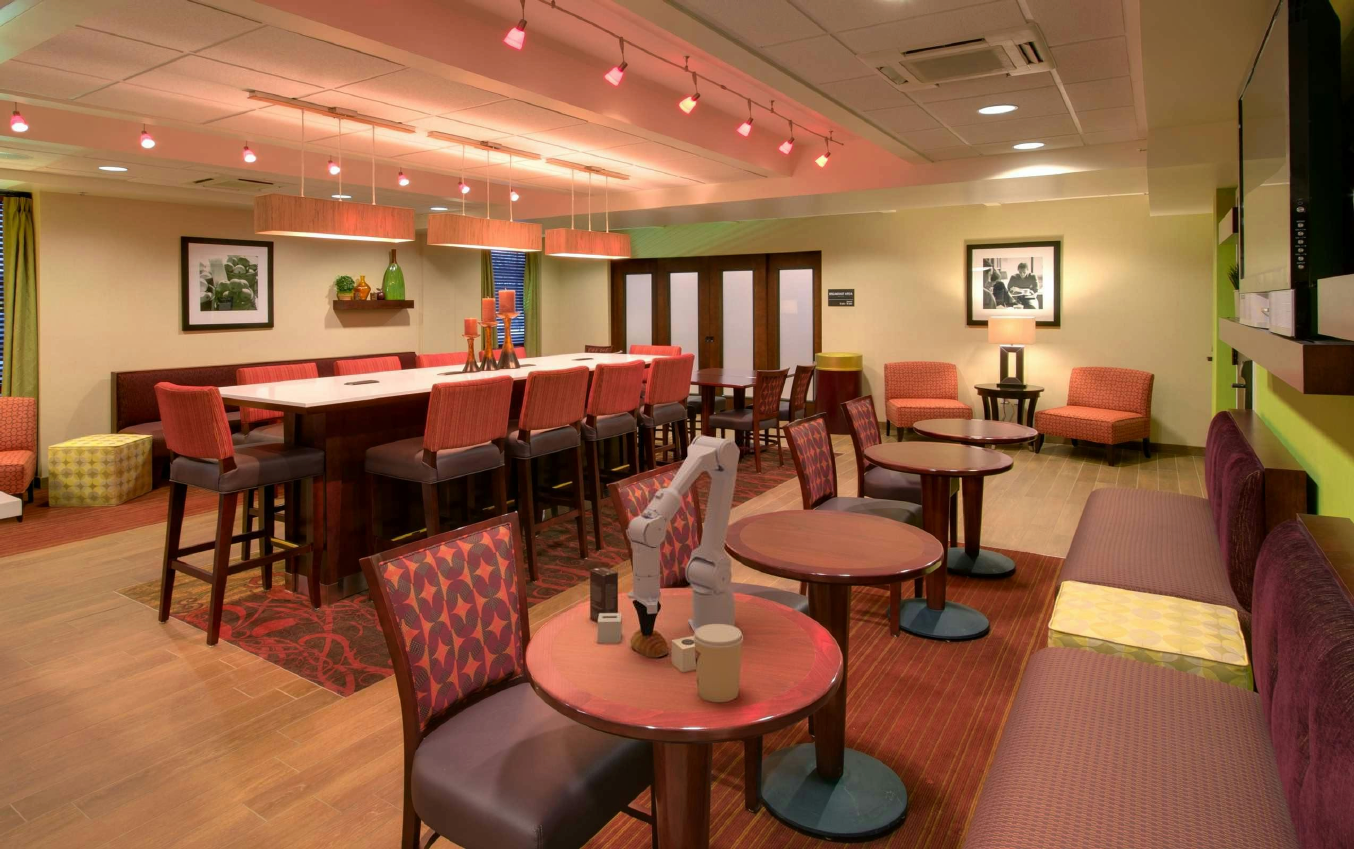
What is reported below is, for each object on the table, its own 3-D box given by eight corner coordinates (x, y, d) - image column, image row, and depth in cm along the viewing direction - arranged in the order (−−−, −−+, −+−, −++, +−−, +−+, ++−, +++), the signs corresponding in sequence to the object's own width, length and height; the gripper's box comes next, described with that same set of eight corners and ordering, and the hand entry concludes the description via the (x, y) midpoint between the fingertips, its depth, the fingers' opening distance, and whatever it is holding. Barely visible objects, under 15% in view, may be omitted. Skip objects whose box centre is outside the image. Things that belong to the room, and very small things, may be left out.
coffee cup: (703, 678, 158) (703, 620, 156) (748, 686, 154) (749, 627, 153) (686, 699, 149) (686, 637, 148) (733, 708, 146) (734, 645, 144)
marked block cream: (693, 658, 167) (693, 635, 167) (704, 668, 163) (704, 643, 162) (671, 663, 165) (671, 639, 164) (682, 672, 161) (682, 648, 160)
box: (619, 621, 187) (618, 572, 186) (603, 626, 185) (602, 576, 183) (604, 614, 192) (604, 565, 190) (589, 618, 189) (588, 569, 188)
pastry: (676, 654, 169) (676, 637, 169) (649, 662, 166) (649, 645, 165) (653, 640, 177) (652, 623, 177) (626, 647, 173) (626, 630, 173)
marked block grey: (621, 634, 180) (621, 612, 180) (620, 643, 175) (620, 620, 175) (599, 634, 180) (599, 612, 179) (597, 643, 175) (597, 621, 174)
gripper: (622, 563, 175) (623, 622, 177) (632, 585, 161) (633, 649, 163) (654, 561, 177) (654, 620, 178) (667, 582, 163) (667, 646, 164)
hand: (646, 634), depth 171 cm, fingers closed
